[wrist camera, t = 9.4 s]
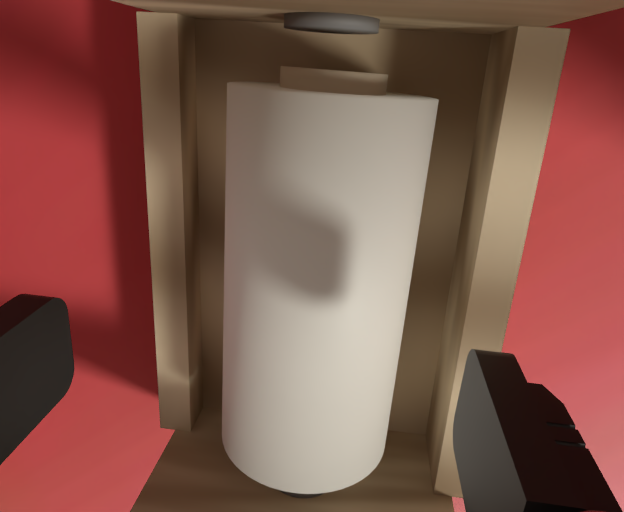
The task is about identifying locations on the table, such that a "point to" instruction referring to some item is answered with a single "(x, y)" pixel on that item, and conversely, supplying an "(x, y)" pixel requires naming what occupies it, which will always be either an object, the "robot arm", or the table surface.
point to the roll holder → (432, 229)
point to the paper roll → (317, 270)
